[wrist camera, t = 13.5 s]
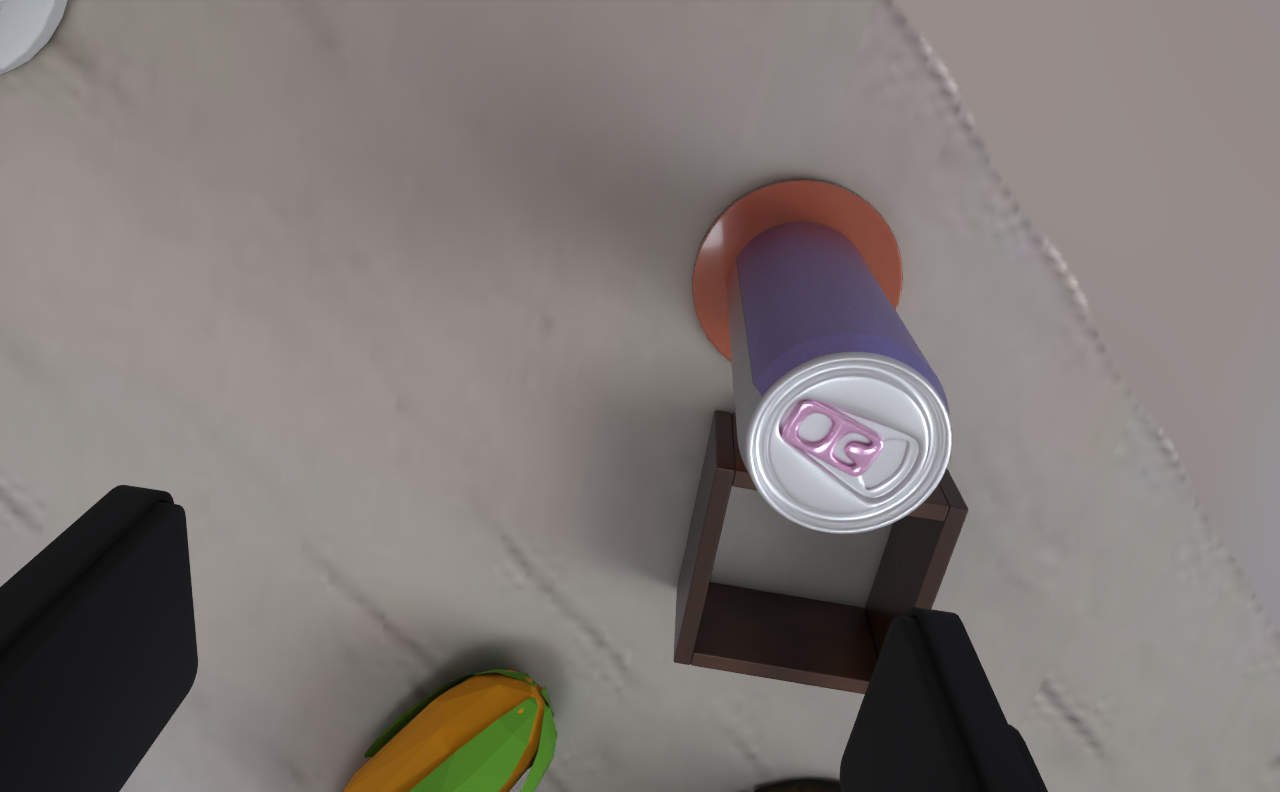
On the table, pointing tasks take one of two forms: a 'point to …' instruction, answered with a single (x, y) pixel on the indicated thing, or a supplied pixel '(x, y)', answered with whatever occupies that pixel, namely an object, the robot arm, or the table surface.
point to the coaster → (778, 208)
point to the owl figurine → (803, 787)
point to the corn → (465, 739)
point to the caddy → (795, 627)
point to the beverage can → (830, 385)
